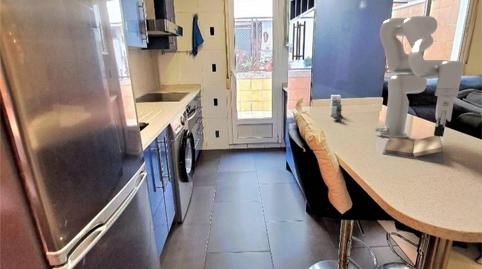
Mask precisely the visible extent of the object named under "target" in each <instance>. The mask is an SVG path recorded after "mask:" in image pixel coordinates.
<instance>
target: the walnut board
mask: <svg viewBox="0 0 482 269" xmlns="http://www.w3.org/2000/svg"><path fill="white" fill-rule="evenodd" d="M388 140H389V142H388V144H387V147H386V150H385V153H390V154H397V155H403V156H410V157H412V152H413V143H414V140H412V139H407V138H403V139H398V138H388Z"/></svg>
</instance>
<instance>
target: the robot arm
mask: <svg viewBox="0 0 482 269" xmlns="http://www.w3.org/2000/svg"><path fill="white" fill-rule="evenodd" d="M437 28H438V22H437V19H436V18H435V17H434V16H431V15H416V16H415V15H414V16H410V17H392V18H388V19H387V20H385V21H383V23H382V24H381V26H380V30H379V39H380V42H381V44H382V47H383V49H384V54H385V59H386V64H387V68H388V71H389V72H390V73H391V74H395V75H392V76H391V77H390V78H389V79H388V82H387V91H388V96H387V104H386V114H385V120H384V125H382V127H374V132H379V134H380V136H382V137H385V138H388V139H390V138H398V139H407V138H408V133H406V132H405V131H406V125H407V121H408V119H407V117H408V114H409V113H408V112H409V106H410V105H409V104H410V100H409V99H408V96H407V94H420V93H422V92H424V91H425V89H426V88H427V85H428V83H427V82H428V79H437V82H436V85H435V86H436V87H435V91H434V96H436V97H437V100H436V108H435V120H436V124H435V127H434V131H433V136H440V138H441V137H444V134H445V130H446V127H445V126H446V121H447V122H451V120H452V114H453V107H454V102H455V101H454V100H455V98H457V97H458V95H459V91H460V85H461V81H462V75H463V70H464V66H465V65H464V62H463V61H461V60H447V59H446V60H445V59H425V58H424V56H423V54H422V53H423V52H424V51H426V50H427V49H429V48H430V47H431V46H432V45H433V43H434V37H433V34H434V33H435V32H436V31H437ZM398 37H405V38H406V40H407V41H408V43H409V46H410V48H411V49H410V52H409V53H406V50H405V49H404V44H403V43H402V41H401V40H400V39H399V38H398Z"/></svg>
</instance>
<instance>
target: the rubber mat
mask: <svg viewBox="0 0 482 269" xmlns="http://www.w3.org/2000/svg"><path fill="white" fill-rule="evenodd" d="M388 142H389V139H387V141H386V144H385V146H384V149H383V152H382V155H386V156H387V155H389V156H395V157H400V158H406V159H407V158H408V159H412V160H419V161H426V162H432V163H438V164H445V158H444V154H443V153H444V152H443V151H439V152H434V153H430V154H425V155H420V156H414V154H413V152H412V157H410V156H403V155H397V154H390V153H385V150H386V147H387V144H388ZM413 150H414V142H413Z"/></svg>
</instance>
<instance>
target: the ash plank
mask: <svg viewBox="0 0 482 269" xmlns="http://www.w3.org/2000/svg"><path fill="white" fill-rule="evenodd" d="M413 141H414V142H413V143H414V150H413V154H414V156H420V155H425V154H430V153H434V152H439V151H442V152H443V151H444V148H443V143H442V140H441V137H440V136H434V135H431V136H427V137H424V138H417V139H414V140H413Z"/></svg>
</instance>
